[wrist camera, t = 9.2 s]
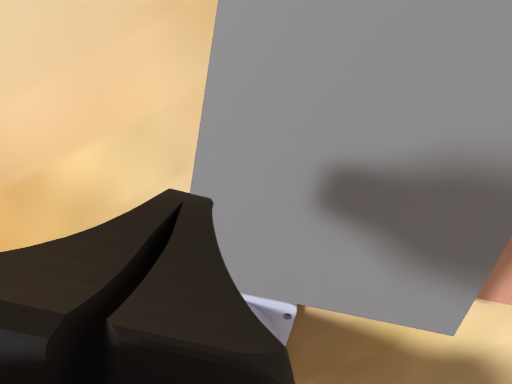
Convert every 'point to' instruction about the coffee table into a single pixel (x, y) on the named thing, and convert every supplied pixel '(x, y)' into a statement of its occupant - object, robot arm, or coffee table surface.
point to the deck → (360, 153)
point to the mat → (499, 279)
